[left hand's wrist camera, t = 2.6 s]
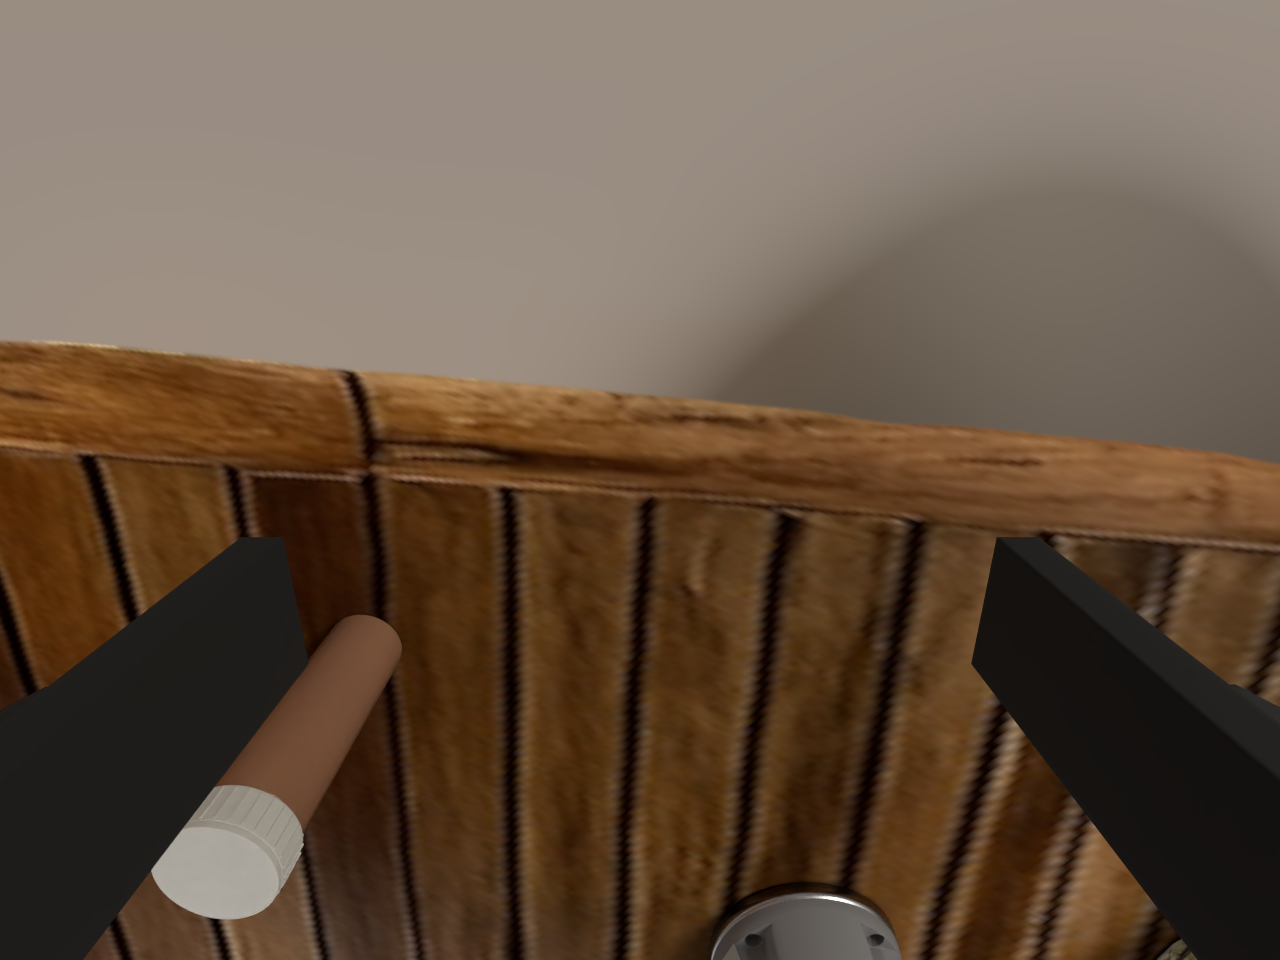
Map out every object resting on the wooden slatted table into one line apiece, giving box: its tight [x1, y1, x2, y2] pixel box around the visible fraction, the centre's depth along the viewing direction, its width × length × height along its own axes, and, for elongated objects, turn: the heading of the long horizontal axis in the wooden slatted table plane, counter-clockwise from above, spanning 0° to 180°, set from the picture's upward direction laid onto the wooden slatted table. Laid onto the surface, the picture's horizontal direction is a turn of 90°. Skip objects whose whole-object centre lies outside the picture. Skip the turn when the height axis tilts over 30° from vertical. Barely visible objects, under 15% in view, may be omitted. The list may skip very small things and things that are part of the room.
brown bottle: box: [215, 615, 402, 833], centre depth 38 cm, size 5×5×17 cm
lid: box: [151, 785, 304, 919], centre depth 31 cm, size 6×6×2 cm
